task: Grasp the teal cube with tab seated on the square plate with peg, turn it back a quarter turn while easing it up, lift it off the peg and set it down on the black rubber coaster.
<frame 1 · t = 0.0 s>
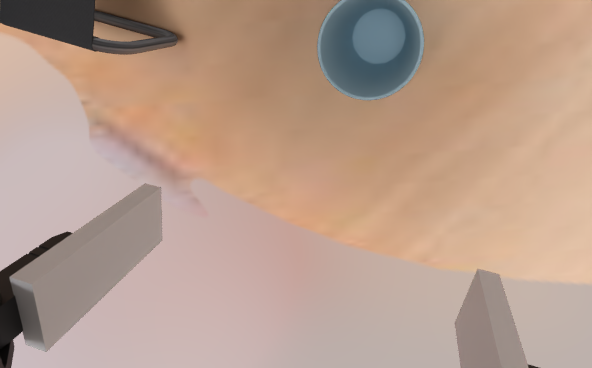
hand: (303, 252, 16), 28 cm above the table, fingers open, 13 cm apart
cup: (379, 36, 38), on the table
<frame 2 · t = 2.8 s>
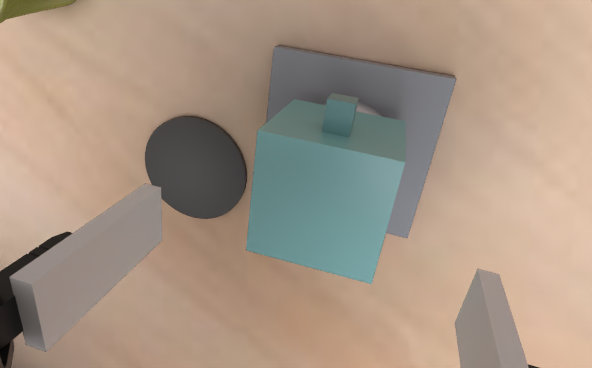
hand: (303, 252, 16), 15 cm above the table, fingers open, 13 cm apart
teal cube with tab: (338, 161, 26), point 4 cm above the table, touching square plate with peg
coaster: (196, 168, 34), on the table
square plate with peg: (346, 142, 30), on the table
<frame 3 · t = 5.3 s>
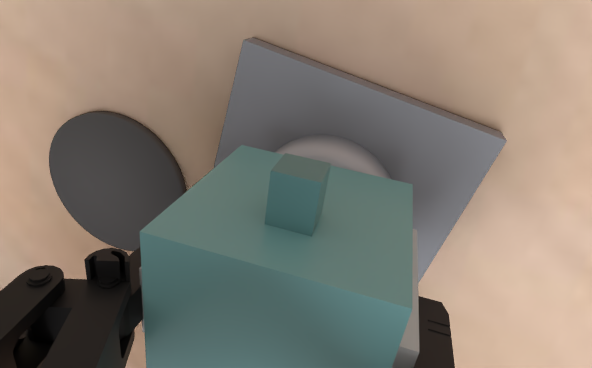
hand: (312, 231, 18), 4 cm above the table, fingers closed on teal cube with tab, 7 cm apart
teal cube with tab: (310, 236, 17), point 4 cm above the table, touching gripper
coaster: (120, 183, 24), on the table
square plate with peg: (329, 191, 21), on the table
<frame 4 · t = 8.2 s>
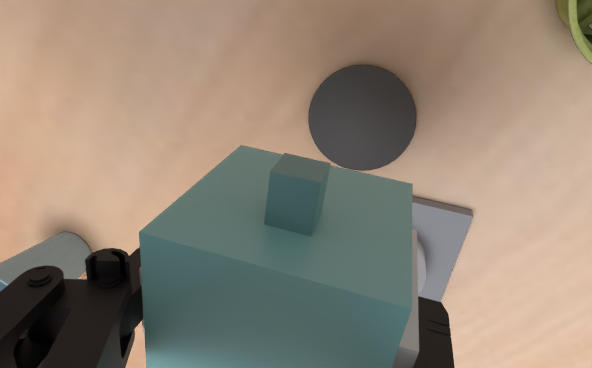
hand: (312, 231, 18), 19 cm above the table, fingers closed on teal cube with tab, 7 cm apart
cup: (74, 249, 51), on the table
teal cube with tab: (310, 236, 17), point 19 cm above the table, touching gripper
coaster: (361, 119, 34), on the table
square plate with peg: (387, 248, 39), on the table
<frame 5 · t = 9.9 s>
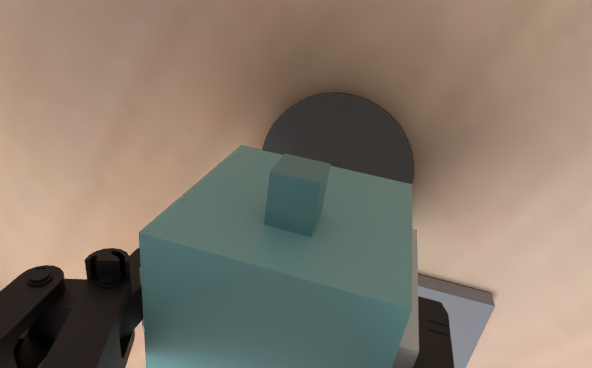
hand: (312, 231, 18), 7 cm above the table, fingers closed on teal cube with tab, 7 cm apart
teal cube with tab: (310, 236, 17), point 8 cm above the table, touching gripper
coaster: (335, 167, 24), on the table
square plate with peg: (374, 333, 29), on the table
when the fingers open (2 cm above the table, at t = 11.6 s): teal cube with tab drops 2 cm, resting on coaster.
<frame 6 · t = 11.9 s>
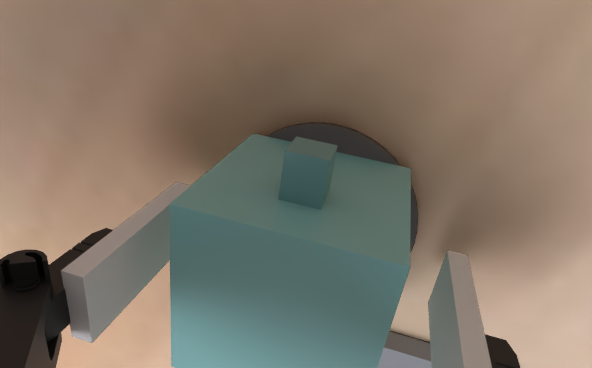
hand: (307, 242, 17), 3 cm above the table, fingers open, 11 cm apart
teal cube with tab: (316, 218, 19), point 1 cm above the table, touching coaster
coaster: (320, 213, 19), on the table
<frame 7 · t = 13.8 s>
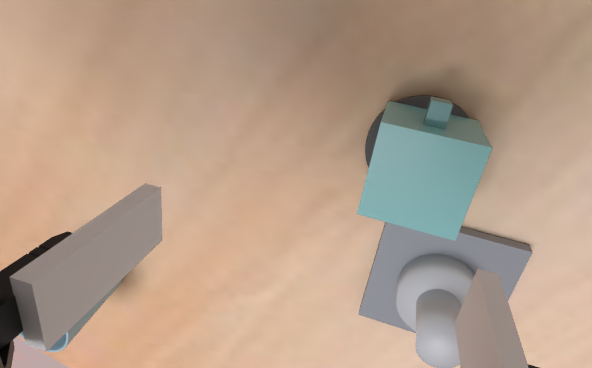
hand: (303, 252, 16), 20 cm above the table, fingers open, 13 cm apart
cup: (107, 264, 50), on the table
teal cube with tab: (419, 151, 33), point 1 cm above the table, touching coaster
coaster: (419, 149, 34), on the table
square plate with peg: (436, 278, 38), on the table
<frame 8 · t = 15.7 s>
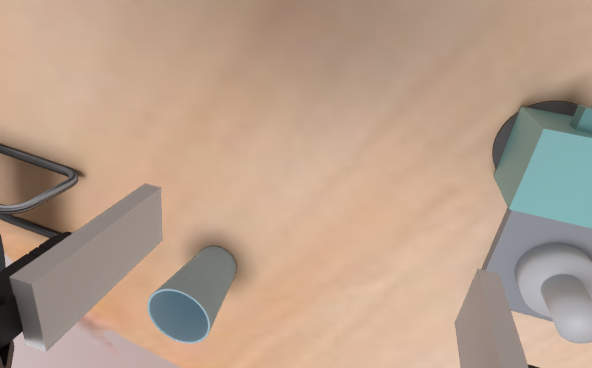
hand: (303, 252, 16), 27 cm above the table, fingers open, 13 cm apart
cup: (218, 262, 54), on the table
teal cube with tab: (546, 150, 37), point 1 cm above the table, touching coaster
chair: (39, 194, 57), on the table
coaster: (545, 148, 37), on the table
square plate with peg: (549, 265, 42), on the table
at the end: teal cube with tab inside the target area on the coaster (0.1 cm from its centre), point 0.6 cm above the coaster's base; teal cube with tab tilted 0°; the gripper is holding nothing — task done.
